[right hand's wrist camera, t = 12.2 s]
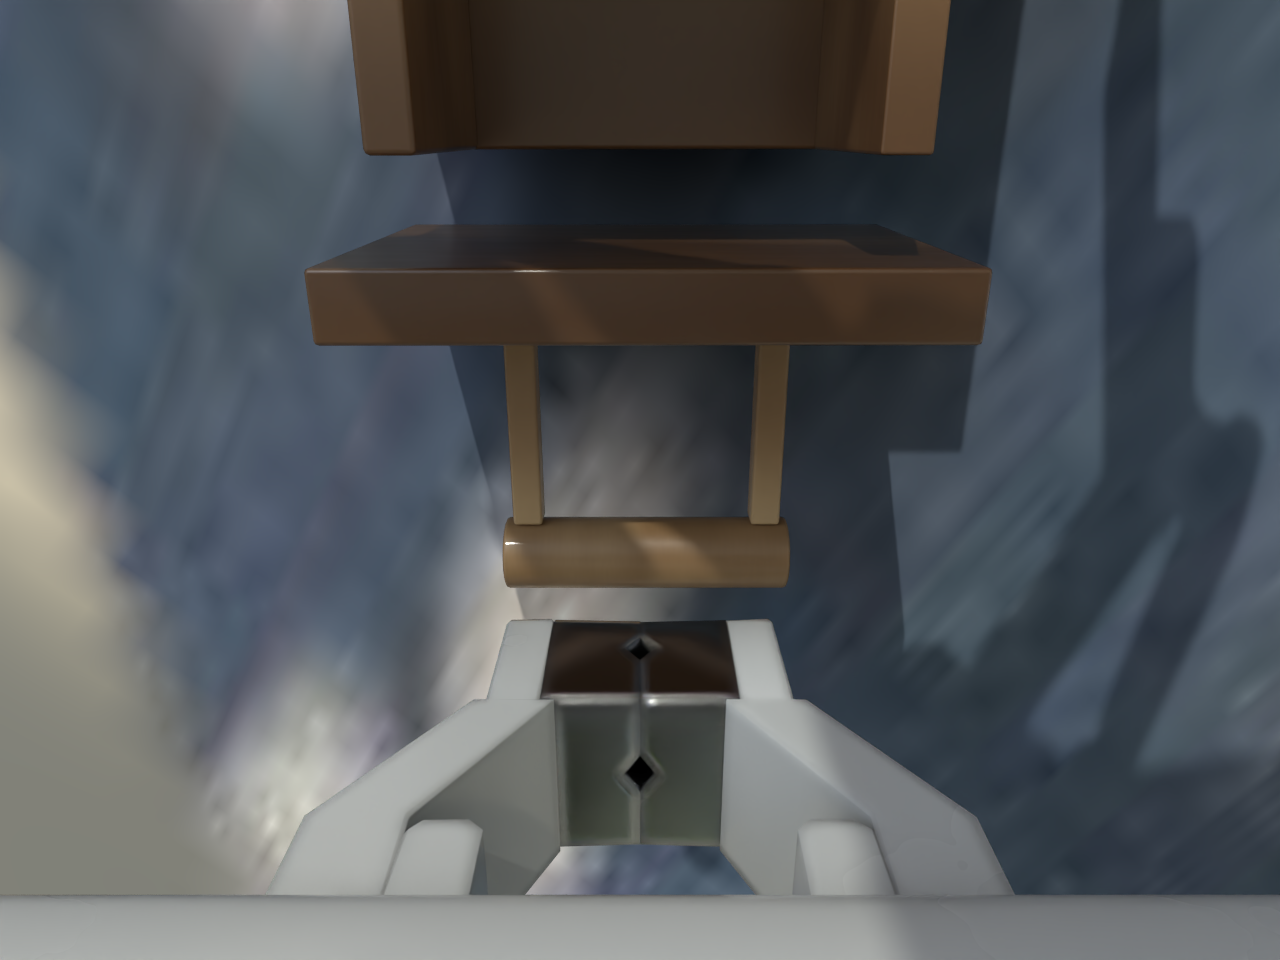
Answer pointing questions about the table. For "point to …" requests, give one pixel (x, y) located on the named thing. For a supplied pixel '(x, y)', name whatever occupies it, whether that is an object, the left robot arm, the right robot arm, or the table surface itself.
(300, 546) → the table surface
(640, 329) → the drawer
